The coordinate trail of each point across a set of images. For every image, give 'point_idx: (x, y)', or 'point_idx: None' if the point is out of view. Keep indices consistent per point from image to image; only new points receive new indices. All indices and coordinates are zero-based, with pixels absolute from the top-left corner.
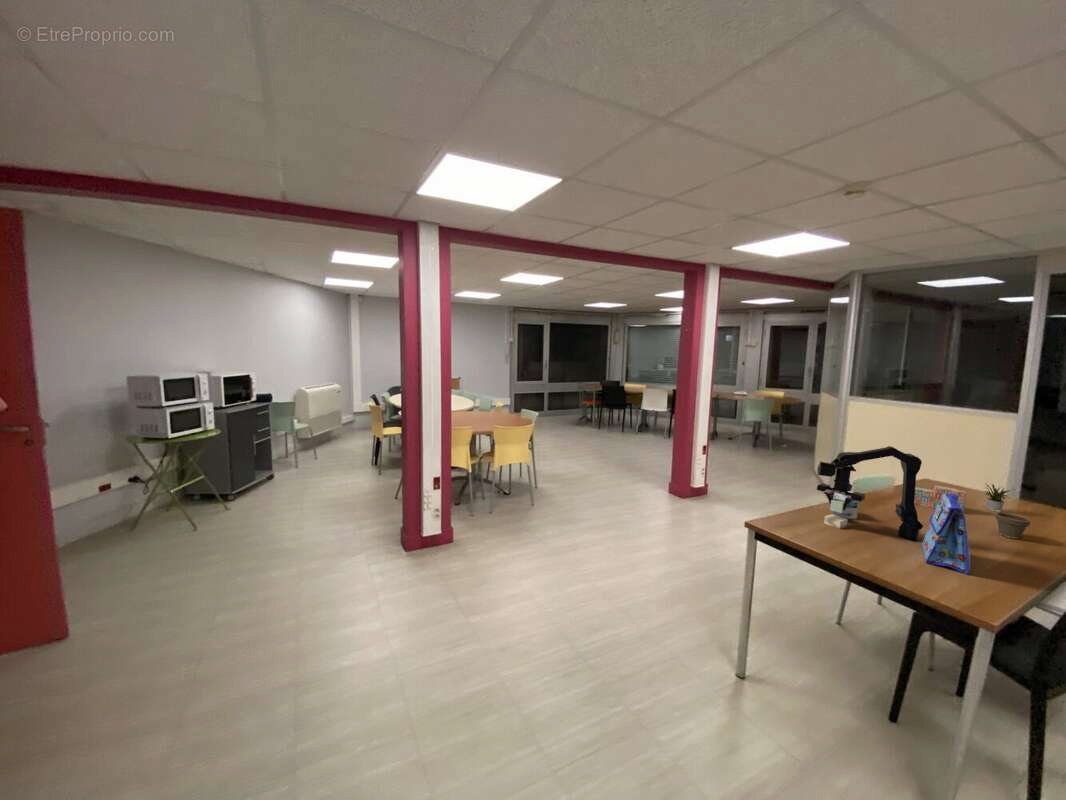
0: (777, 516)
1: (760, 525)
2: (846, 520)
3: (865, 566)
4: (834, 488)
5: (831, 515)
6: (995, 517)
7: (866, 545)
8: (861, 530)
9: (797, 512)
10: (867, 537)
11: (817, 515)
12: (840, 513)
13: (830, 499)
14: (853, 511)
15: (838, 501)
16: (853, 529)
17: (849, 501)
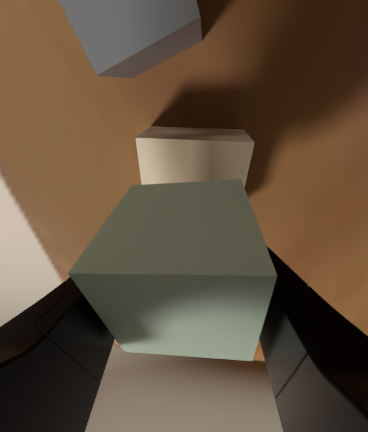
0: (64, 280)
1: (114, 339)
2: (249, 158)
3: None
4: None
5: (154, 180)
6: None
7: (346, 277)
8: (335, 104)
9: (14, 179)
10: (361, 196)
11: (57, 108)
12: (160, 44)
13: (108, 348)
14: None
15: (187, 342)
16: (286, 143)
17: (350, 362)
